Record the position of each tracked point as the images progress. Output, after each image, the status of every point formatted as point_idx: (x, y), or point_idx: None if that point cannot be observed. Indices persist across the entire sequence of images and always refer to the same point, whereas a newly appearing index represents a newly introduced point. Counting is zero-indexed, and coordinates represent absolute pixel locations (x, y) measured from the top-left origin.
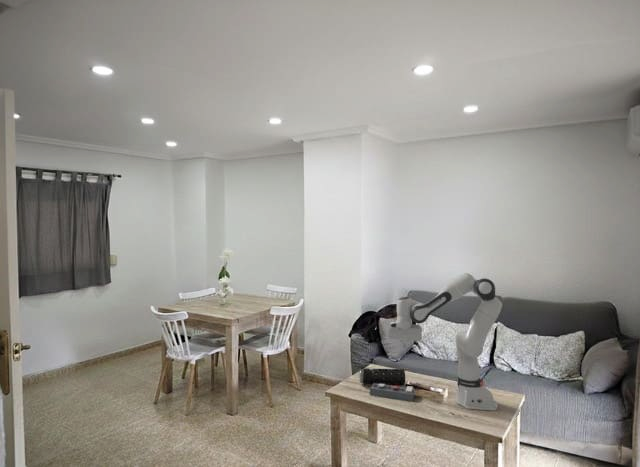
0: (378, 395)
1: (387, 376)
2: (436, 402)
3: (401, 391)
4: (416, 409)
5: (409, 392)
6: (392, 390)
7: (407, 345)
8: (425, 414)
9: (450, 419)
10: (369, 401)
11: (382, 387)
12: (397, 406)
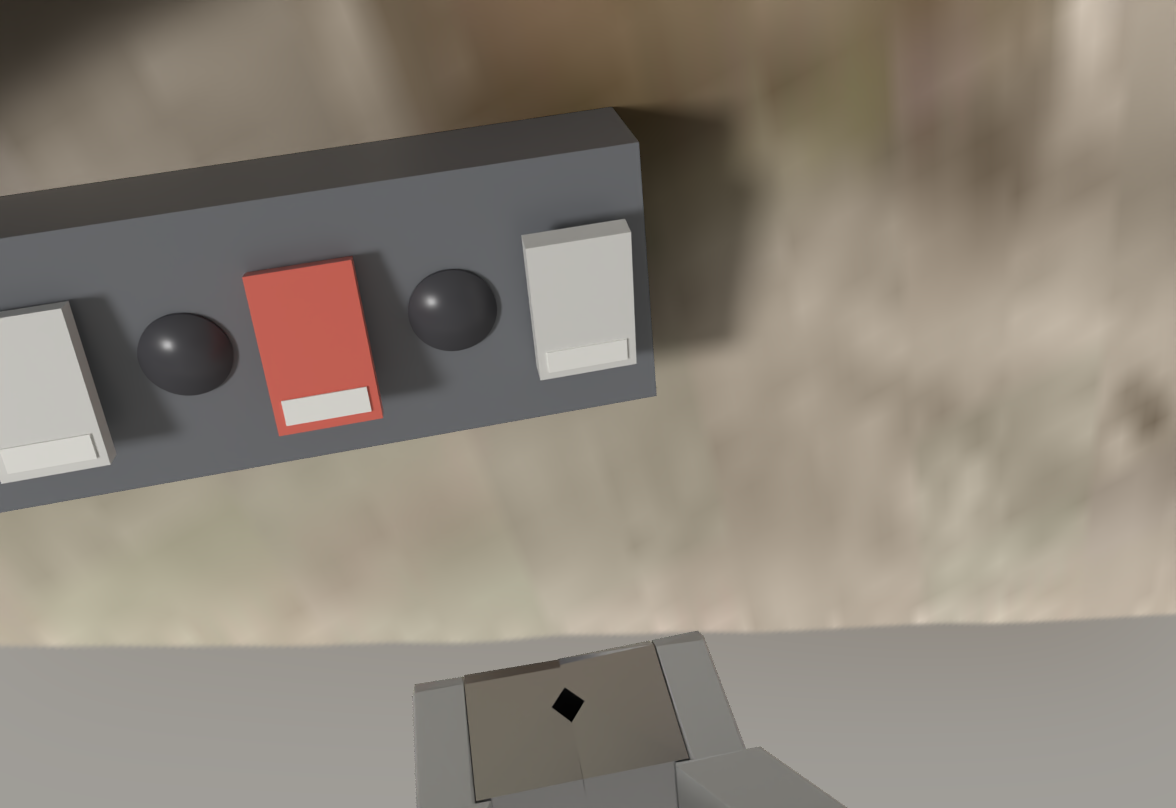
0: None
1: None
2: (965, 199)
3: (460, 377)
4: (736, 529)
5: None
6: None
7: (720, 705)
8: (853, 583)
9: (1111, 550)
10: (86, 639)
11: None
12: (494, 575)
